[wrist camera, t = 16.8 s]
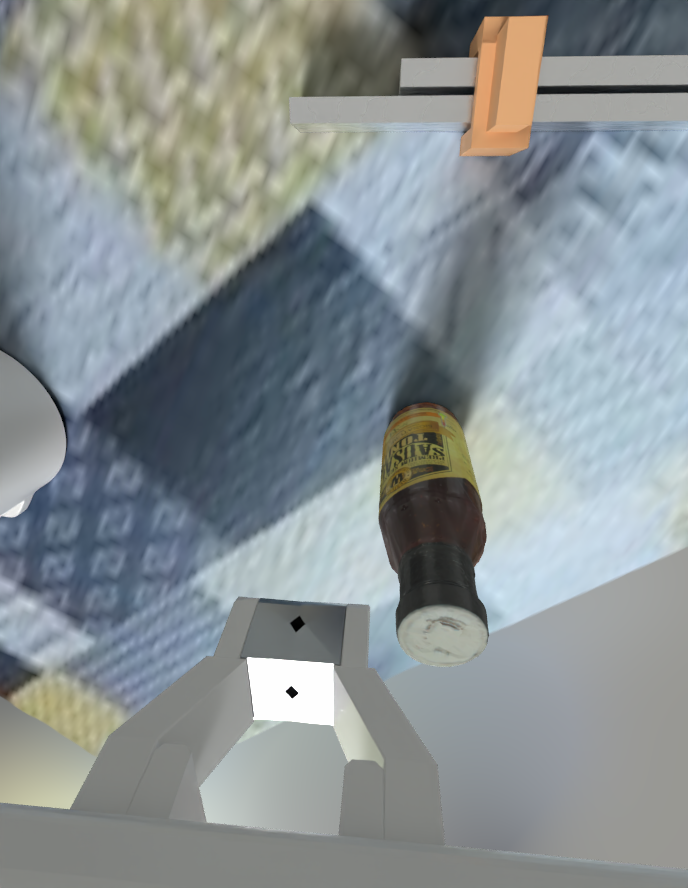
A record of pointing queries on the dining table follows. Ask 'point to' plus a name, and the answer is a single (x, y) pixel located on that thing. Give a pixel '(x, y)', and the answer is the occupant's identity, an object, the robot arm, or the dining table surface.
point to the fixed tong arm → (457, 110)
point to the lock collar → (504, 84)
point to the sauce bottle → (433, 535)
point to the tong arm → (554, 75)
